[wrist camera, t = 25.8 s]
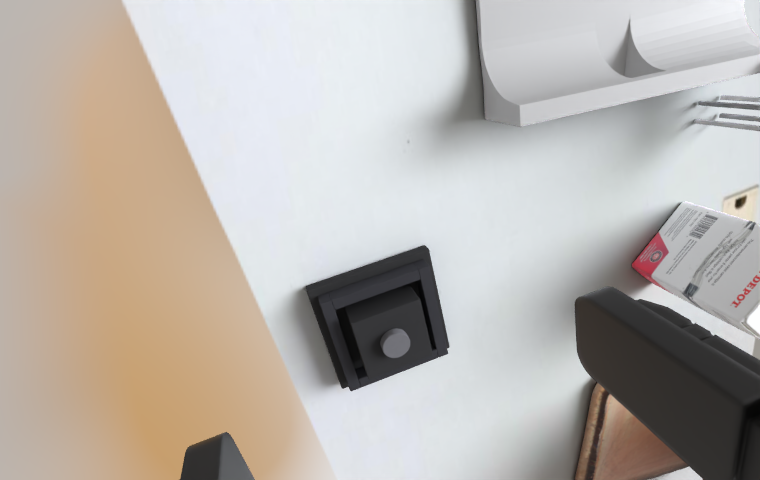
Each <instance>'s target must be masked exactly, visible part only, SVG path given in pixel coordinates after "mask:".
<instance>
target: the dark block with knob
mask: <svg viewBox="0 0 760 480" xmlns="http://www.w3.org/2000/svg"><path fill="white" fill-rule="evenodd" d="M344 308H345V311H346V314H347V317H348V320H349V324H350V327H351V330H352V333H353V336H354V339H355V342H356V345H357V348H358V351H359V354H360V357H361V360H362V363H363V366H364V368H365V371H366V374H367V377H368V379H369V380H370V379H372V378H375V377H377V376H380V375H383V374H385V373H388V372H390V371H393V370H396V369H398V368H401V367H403V366H406V365H409V364H411V363H414V362H416V361H419V360H421V359H424V358H427V357H429V356H432V355H433V353H432V349H431V344H430V340H429V336H428V332H427V327H426V323H425V319H424V314H423V310H422V306H421V302H420V299H419V297H418V296H417V295H416V293H415V292H414V290H413V289H412V288H411V286H410V285H409V284H406V285H403V286H401V287H398V288H395V289H392V290H389V291H387V292H384V293H381V294H378V295H375V296H373V297H370V298H367V299H364V300H361V301H359V302H356V303H353V304H350V305H347V306H345V307H344Z"/></svg>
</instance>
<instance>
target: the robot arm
mask: <svg viewBox="0 0 760 480" xmlns="http://www.w3.org/2000/svg"><path fill="white" fill-rule="evenodd" d="M575 323H576V342H577V353H578V356H579V359H580V361H581V363H582V365H583V367H584V368H585V370H586V371H587V373H588V374H589V375H590V376H591V377H592V378H593V379H594V380H595V381H596V382H598V383H599V384H600V385H601V386H602V387H603V388H604V389H605V390H606V391H607V392H608V393H610V394H611V395H612V396H613V397H614V398H615V399H616V400H617V401H618V402H619V403H621V404H622V405H623V406H624V407H625V408H626V409H627V410H628V411H629V412H630V413H631V414H633V415H634V416H635V417H636V418H637V419H638V420H639V421H640V422H641V423H642V424H644V425H645V426H646V427H647V428H648V429H649V430H650V431H651V432H652V433H653V434H654V435H656V436H657V437H658V438H659V439H660V440H661V441H662V442H663V443H664V444H665V445H667V446H668V447H669V448H670V449H671V450H672V451H673V452H674V453H675V454H676V455H677V456H679V457H680V458H681V459H682V460H683V461H684V462H685V463H686V464H687V465H688V466H690V467H691V468H692V469H693V470H694V471H695V472H696V473H697V474H698V475H699V476H701V477H702V478H703V479H704V480H760V360H758V359H757V358H755V357H753V356H751V355H750V354H748V353H746V352H744V351H743V350H741V349H739V348H738V347H736V346H734V345H732V344H731V343H729V342H727V341H725V340H724V339H722V338H720V337H718V336H717V335H714V336H713V335H712V334H711V333H710V331H708V330H706V329H705V328H703V327H701V326H699V325H698V324H696V323H695V324H692V323H691V320H689V319H687V318H685V317H684V316H682V315H680V314H678V313H677V312H675V311H673V310H672V309H670V308H668V307H665V306H662V305H658V304H655V303H652V302H649V301H645V300H642V299H639V300H634V299H632V298H631V297H629V296H627V295H626V294H624V293H622V292H621V291H619V290H617V289H616V288H613V287H605V288H602V289H599V290H597V291H594V292H592V293H589V294H586V295H584V296H581V297H579V298H577V299H576V301H575ZM180 480H255V479H254V477H253V475H252V474H251V472H250V470H249V469H248V466H247V464H246V462H245V461H244V459H243V457H242V455H241V453H240V451H239V449H238V448H237V446H236V444H235V442H234V440H233V439H232V437H231V435H230V434H229V433H227V432H225V433H222V434H220V435H217V436H215V437H212V438H209V439H207V440H204V441H202V442H199V443H196V444H194V445H192V446H189V447H188V448H187V450H186V453H185V457H184V463H183V468H182V474H181V479H180Z"/></svg>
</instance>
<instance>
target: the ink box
mask: <svg viewBox="0 0 760 480" xmlns="http://www.w3.org/2000/svg"><path fill="white" fill-rule="evenodd" d="M632 267H633V268H634V269H635V270H636V271H637V272H638V273H640V274H641V275H642V276H643V277H645V278H646V279H647V280H649V281H650V282H652V283H653V284H655V285H657V286H659V287H661V288H663V289H664V290H666V291H668V292H670V293H672V294H674V295H676V296H678V297H679V298H681V299H683V300H685V301H687V302H689V303H691V304H693V305H695V306H696V307H698V308H700V309H702V310H704V311H706V312H708V313H710V314H711V315H713V316H715V317H717V318H719V319H721V320H723V321H725V322H727V323H729V324H731V325H732V326H734V327H736V328H738V329H740V330H742V331H744V332H746V333H748V334H750V335H752V336H754V337H756V338H758V339H760V224H758V223H755V222H752V221H748V220H745V219H742V218H738V217H735V216H732V215H729V214H726V213H722V212H719V211H716V210H713V209H709V208H706V207H703V206H700V205H696V204H693V203H689V202H686V201H684V202H682V203H681V204H680V205H679V207H678V208H677V209H676V210H675V212H674V213H673V214H672V215H671V217H670V218H669V219H668V220H667V222H666V223H665V224H664V225H663V227H662V228H661V229H660V230H659V232H658V233H657V234H656V235H655V237H654V238H653V239H652V240H651V241H650V243H649V244H648V245H647V246H646V248H645V249H644V250H643V251H642V252H641V254H640V255H639V256H638V257H637V259H636V260H635V261H634V262H633V263H632Z"/></svg>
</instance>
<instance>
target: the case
mask: <svg viewBox="0 0 760 480" xmlns="http://www.w3.org/2000/svg"><path fill="white" fill-rule="evenodd" d="M686 467H688V465H687V464H686V463H685V462H684V461H683V460H682V459H681V458H680V457H679V456H677V455H676V454H675V453H674V452H673V451H672V450H671V449H670V448H669V447H668V446H667V445H665V444H664V443H663V442H662V441H661V440H660V439H659V438H658V437H657V436H656V435H654V434H653V433H652V432H651V431H650V430H649V429H648V428H647V427H646V426H645V425H644V424H642V423H641V422H640V421H639V420H638V419H637V418H636V417H635V416H634V415H633V414H631V413H630V412H629V411H628V410H627V409H626V408H625V407H624V406H623V405H622V404H621V403H619V402H618V401H617V400H616V399H615V398H614V397H613V396H612V395H611V394H610V393H608V392H607V391H606V390H605V389H604V388H603V387H602V386H601V385H600V384H599V383H597V384H596V386H595V388H594V390H593V393H592V397H591V402H590V407H589V412H588V417H587V424H586V428H585V433H584V439H583V443H582V448H581V453H580V457H579V462H578V467H577V471H576V476H575V480H647V479H651V478H655V477H658V476H661V475H664V474H667V473H671V472H674V471H676V470H680V469H683V468H686ZM703 480H704V479H703Z"/></svg>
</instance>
